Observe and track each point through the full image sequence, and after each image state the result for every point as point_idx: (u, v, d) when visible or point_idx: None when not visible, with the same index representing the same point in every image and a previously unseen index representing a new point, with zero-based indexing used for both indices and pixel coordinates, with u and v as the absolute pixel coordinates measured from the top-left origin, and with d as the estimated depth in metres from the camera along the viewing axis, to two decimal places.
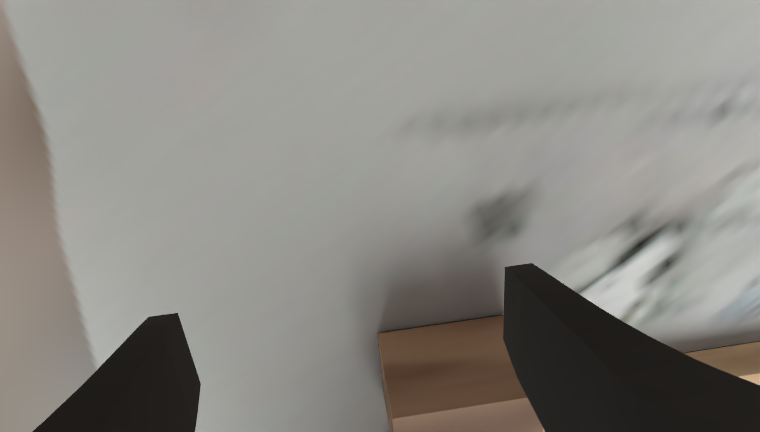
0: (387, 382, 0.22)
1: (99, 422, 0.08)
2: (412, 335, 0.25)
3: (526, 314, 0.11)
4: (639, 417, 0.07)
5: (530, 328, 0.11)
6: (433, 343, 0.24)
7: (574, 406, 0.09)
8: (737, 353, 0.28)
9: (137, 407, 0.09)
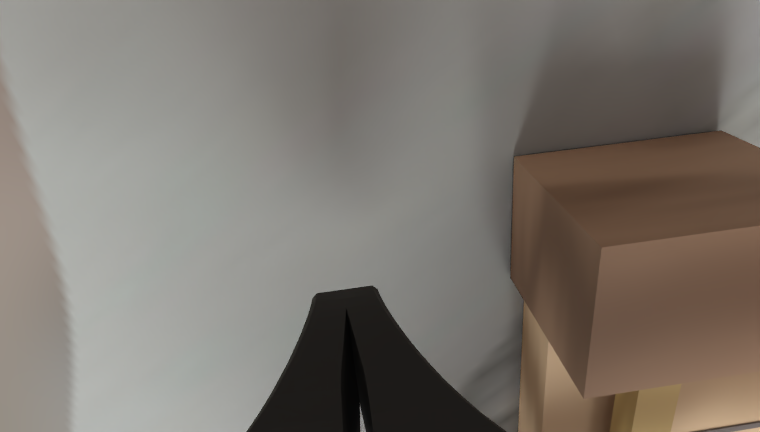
0: (563, 204, 0.12)
1: (335, 386, 0.08)
2: (576, 155, 0.15)
3: (352, 340, 0.11)
4: None
5: (354, 354, 0.10)
6: (619, 161, 0.14)
7: None
8: None
9: (345, 375, 0.09)
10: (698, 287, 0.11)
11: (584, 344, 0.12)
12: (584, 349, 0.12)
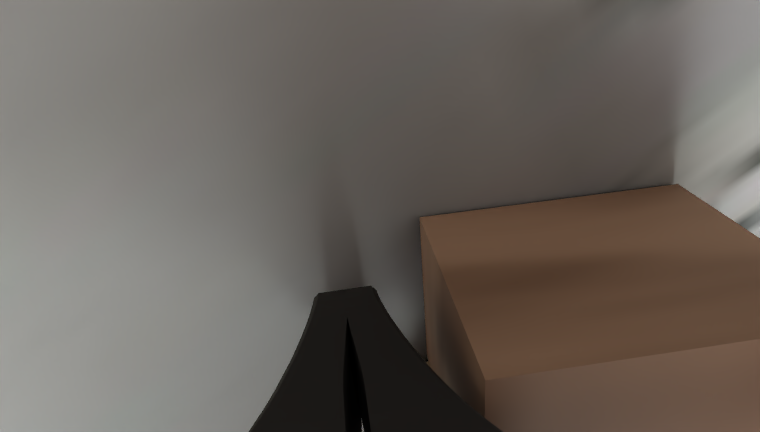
0: (456, 299, 0.09)
1: (337, 386, 0.08)
2: (494, 218, 0.12)
3: None
4: None
5: (352, 355, 0.10)
6: (544, 230, 0.11)
7: None
8: None
9: (347, 375, 0.09)
10: (625, 422, 0.08)
11: None
12: None
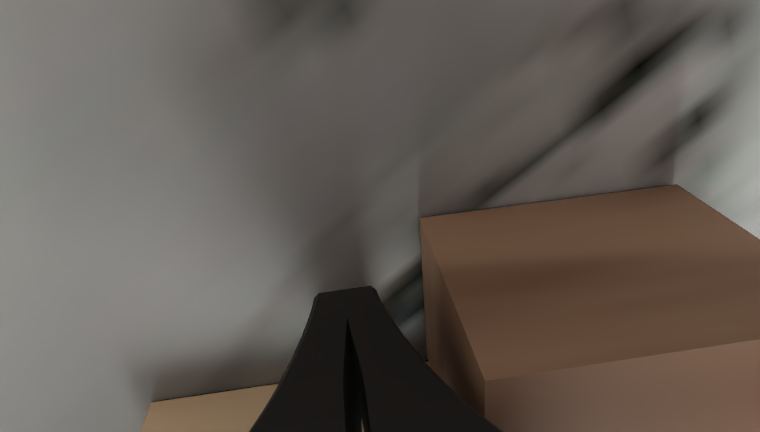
0: (456, 300, 0.09)
1: (337, 386, 0.08)
2: (494, 218, 0.12)
3: None
4: None
5: (352, 354, 0.10)
6: (544, 230, 0.11)
7: None
8: None
9: (347, 375, 0.09)
10: (624, 422, 0.08)
11: None
12: None
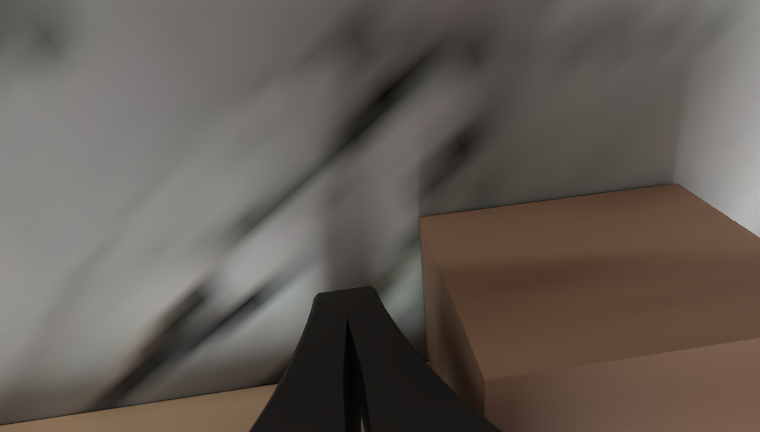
0: (456, 300, 0.09)
1: (337, 386, 0.08)
2: (494, 218, 0.12)
3: (350, 340, 0.11)
4: None
5: (352, 354, 0.10)
6: (544, 229, 0.11)
7: None
8: None
9: (347, 375, 0.09)
10: (625, 422, 0.08)
11: None
12: None
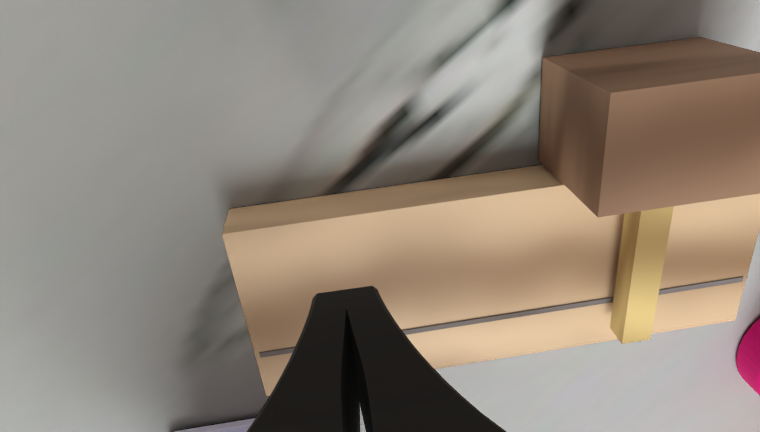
0: (582, 77, 0.17)
1: (335, 386, 0.08)
2: (590, 54, 0.19)
3: (352, 340, 0.11)
4: None
5: (354, 354, 0.10)
6: (622, 55, 0.19)
7: None
8: None
9: (345, 375, 0.09)
10: (678, 126, 0.16)
11: (598, 174, 0.17)
12: (598, 178, 0.17)
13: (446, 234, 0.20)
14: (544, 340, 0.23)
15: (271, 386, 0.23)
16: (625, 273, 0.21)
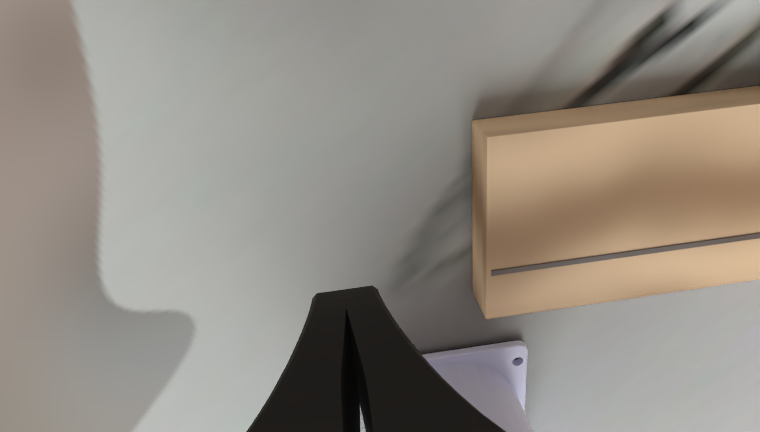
0: None
1: (335, 386, 0.08)
2: None
3: (351, 340, 0.11)
4: None
5: (354, 354, 0.10)
6: None
7: None
8: None
9: (345, 376, 0.09)
10: None
11: None
12: None
13: (700, 145, 0.20)
14: None
15: (493, 308, 0.22)
16: None
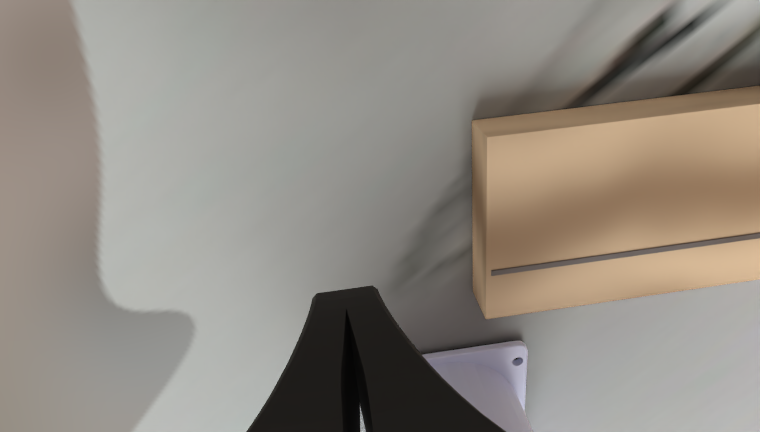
0: None
1: (335, 386, 0.08)
2: None
3: (351, 340, 0.11)
4: None
5: (354, 354, 0.10)
6: None
7: None
8: None
9: (345, 376, 0.09)
10: None
11: None
12: None
13: (700, 145, 0.20)
14: None
15: (493, 308, 0.22)
16: None
